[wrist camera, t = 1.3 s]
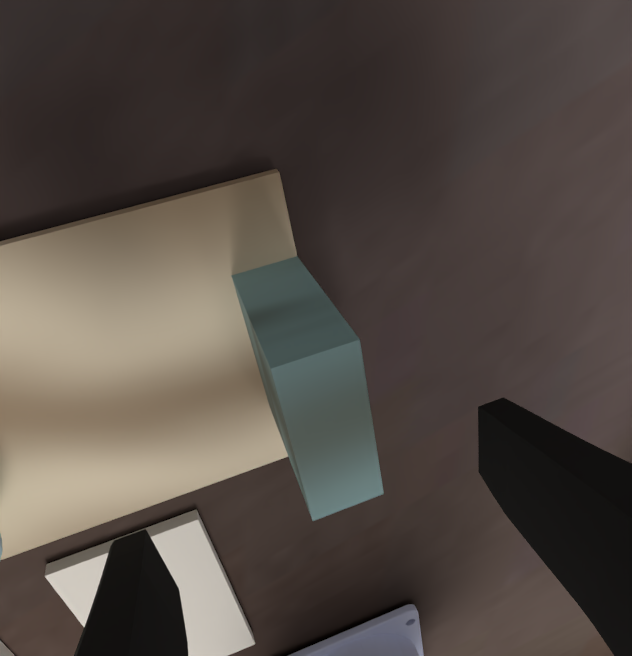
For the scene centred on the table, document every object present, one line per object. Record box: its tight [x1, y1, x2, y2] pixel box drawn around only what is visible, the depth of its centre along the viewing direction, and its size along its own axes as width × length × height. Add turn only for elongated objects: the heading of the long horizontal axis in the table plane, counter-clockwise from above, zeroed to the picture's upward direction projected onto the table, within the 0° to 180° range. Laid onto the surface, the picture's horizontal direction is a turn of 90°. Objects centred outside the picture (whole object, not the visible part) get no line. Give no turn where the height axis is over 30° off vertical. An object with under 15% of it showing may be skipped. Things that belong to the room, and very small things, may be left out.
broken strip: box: [0, 509, 255, 656], centre depth 21 cm, size 9×14×1 cm, turn 101°
